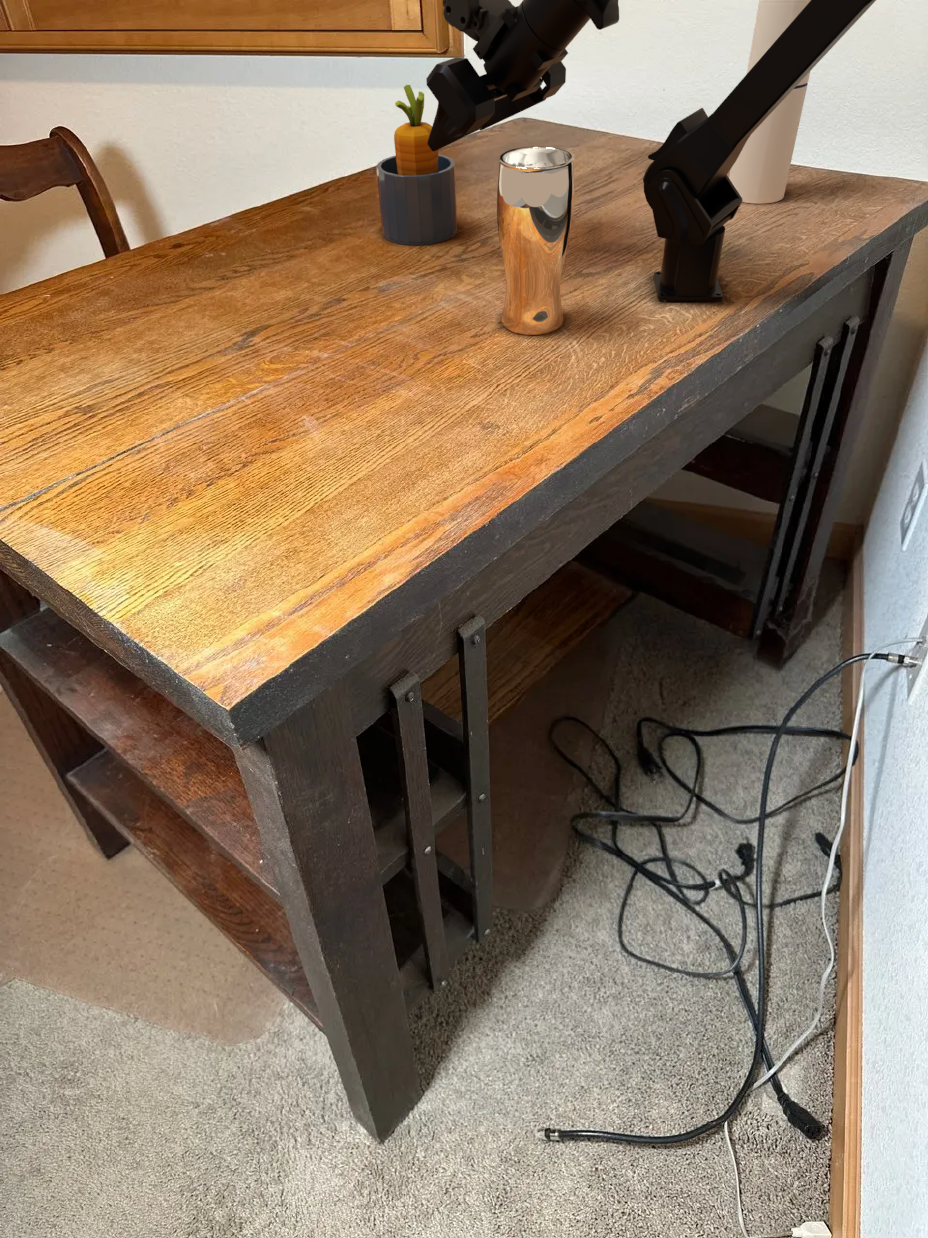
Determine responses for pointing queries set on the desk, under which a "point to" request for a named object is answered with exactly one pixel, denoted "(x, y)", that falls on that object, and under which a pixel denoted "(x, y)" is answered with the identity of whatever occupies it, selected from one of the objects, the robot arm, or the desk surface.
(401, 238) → the cup
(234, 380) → the desk surface
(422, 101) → the carrot
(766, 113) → the robot arm
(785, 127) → the cylindrical container
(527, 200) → the beer glass
